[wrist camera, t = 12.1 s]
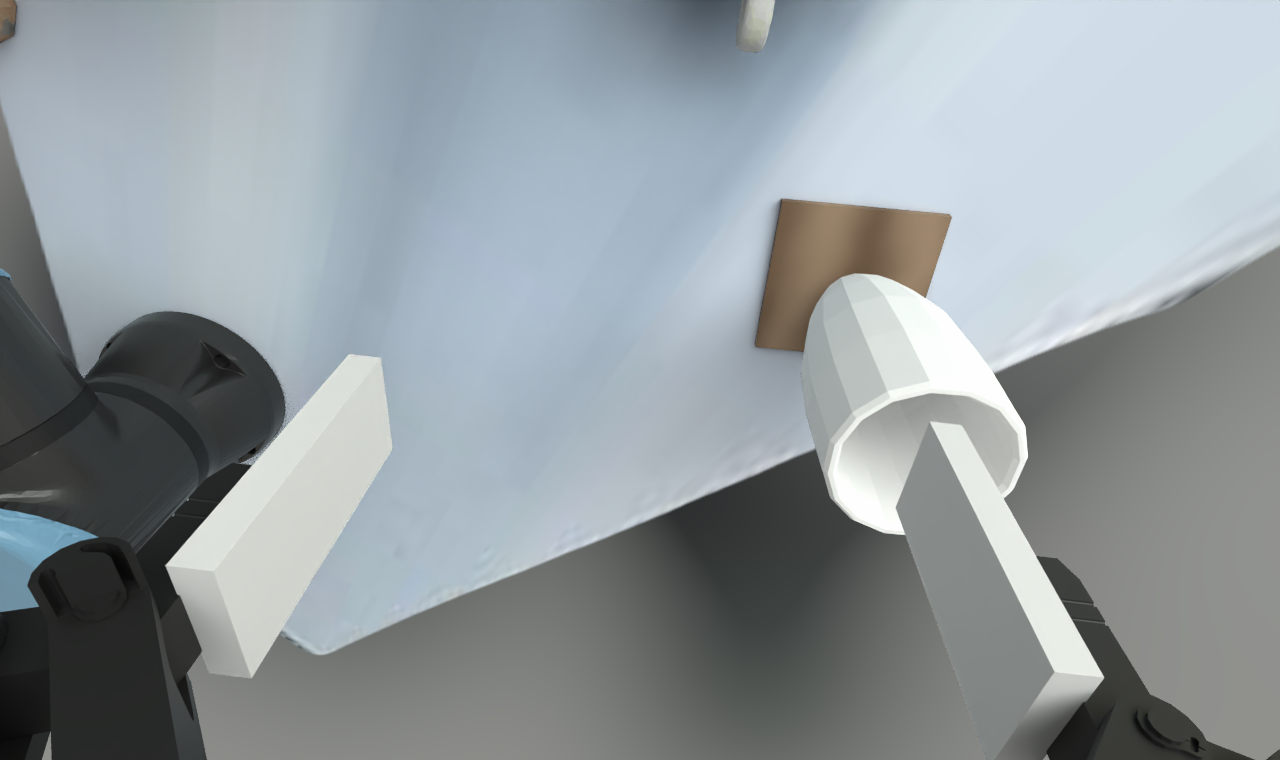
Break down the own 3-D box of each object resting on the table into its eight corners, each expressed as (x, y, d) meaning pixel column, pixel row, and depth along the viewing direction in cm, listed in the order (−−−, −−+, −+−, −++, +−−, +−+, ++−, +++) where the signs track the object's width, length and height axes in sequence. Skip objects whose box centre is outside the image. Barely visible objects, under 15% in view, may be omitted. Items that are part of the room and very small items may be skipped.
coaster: (755, 343, 55) (755, 346, 55) (781, 198, 49) (782, 201, 49) (902, 358, 55) (904, 361, 55) (949, 214, 49) (951, 217, 48)
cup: (810, 365, 55) (862, 566, 37) (753, 261, 51) (781, 431, 33) (937, 310, 52) (1064, 502, 34) (888, 193, 48) (1003, 341, 29)
